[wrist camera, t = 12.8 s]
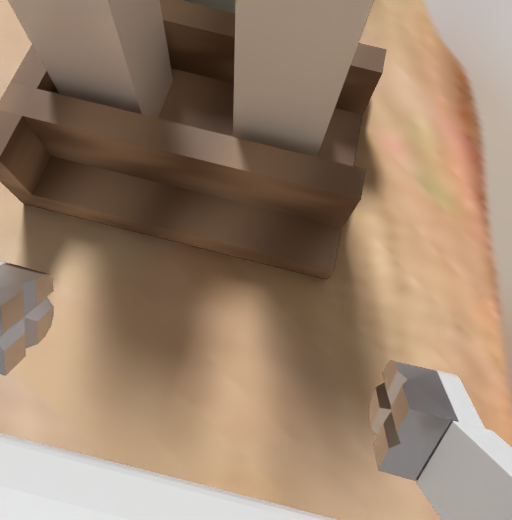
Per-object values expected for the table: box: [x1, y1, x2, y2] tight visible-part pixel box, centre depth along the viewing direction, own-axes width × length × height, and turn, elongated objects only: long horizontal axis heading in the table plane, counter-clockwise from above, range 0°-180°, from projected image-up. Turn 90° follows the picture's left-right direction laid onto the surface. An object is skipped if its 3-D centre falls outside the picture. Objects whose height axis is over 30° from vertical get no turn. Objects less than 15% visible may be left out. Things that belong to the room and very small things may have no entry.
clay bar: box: [233, 0, 374, 157], centre depth 16 cm, size 4×4×12 cm
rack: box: [0, 0, 386, 279], centre depth 21 cm, size 16×13×4 cm
